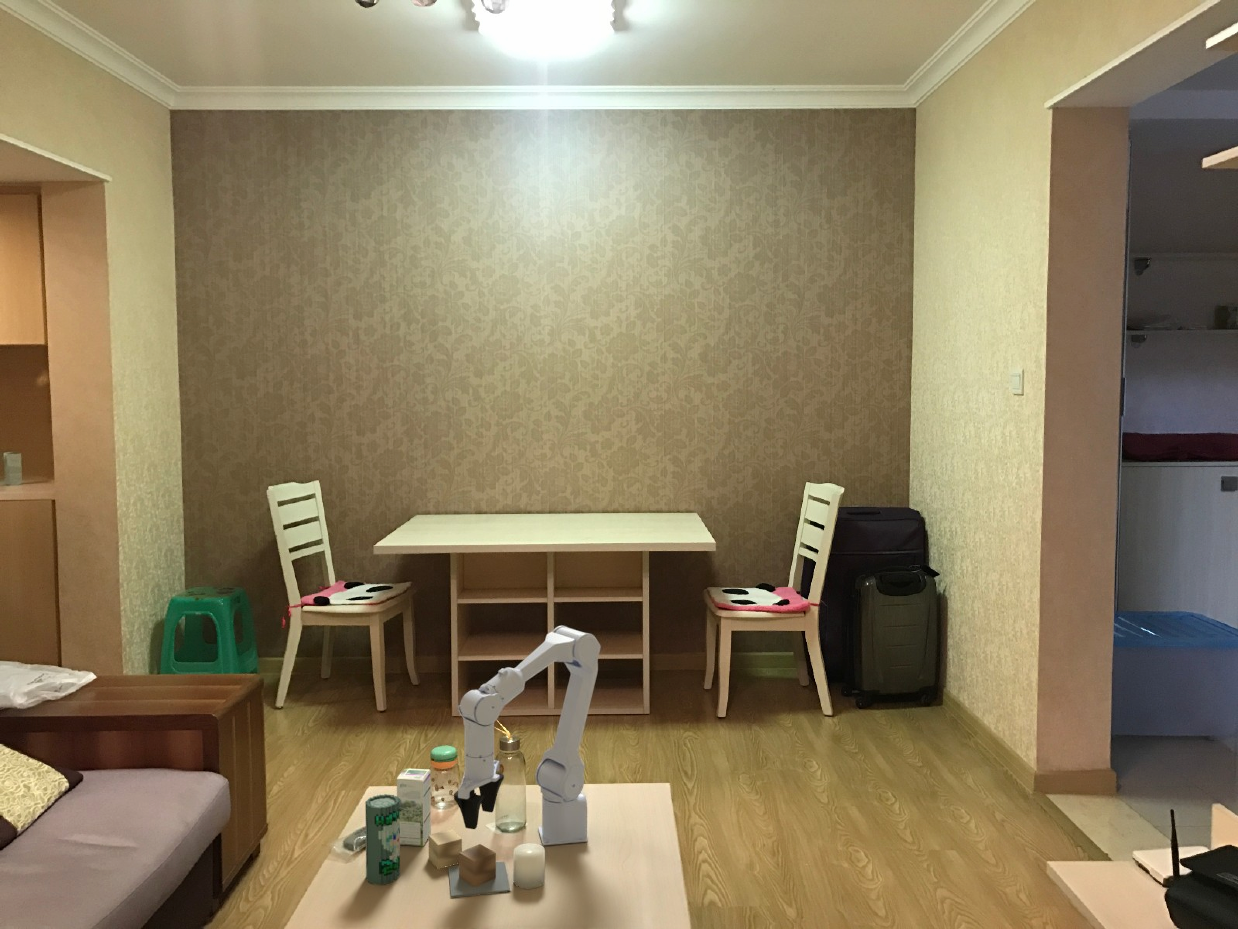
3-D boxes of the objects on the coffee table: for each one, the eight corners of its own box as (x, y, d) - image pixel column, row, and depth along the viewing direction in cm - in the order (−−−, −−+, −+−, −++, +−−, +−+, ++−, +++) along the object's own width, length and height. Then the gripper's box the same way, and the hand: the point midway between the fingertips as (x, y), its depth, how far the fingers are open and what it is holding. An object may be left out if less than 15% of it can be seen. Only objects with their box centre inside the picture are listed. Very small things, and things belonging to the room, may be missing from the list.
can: (390, 886, 181) (390, 809, 180) (361, 882, 183) (360, 806, 181) (404, 870, 187) (403, 796, 186) (375, 867, 188) (375, 793, 187)
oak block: (451, 852, 195) (451, 829, 194) (461, 863, 191) (461, 838, 190) (428, 859, 192) (428, 835, 192) (438, 869, 188) (438, 845, 188)
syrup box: (431, 834, 202) (431, 768, 201) (423, 847, 197) (422, 779, 195) (405, 833, 203) (405, 766, 202) (396, 846, 197) (395, 778, 196)
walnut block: (479, 868, 188) (479, 844, 187) (495, 877, 184) (495, 852, 184) (459, 877, 184) (459, 852, 184) (474, 887, 181) (474, 861, 180)
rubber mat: (504, 863, 190) (504, 861, 190) (510, 892, 180) (510, 889, 180) (448, 868, 188) (448, 866, 188) (451, 898, 177) (450, 895, 177)
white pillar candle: (542, 871, 188) (542, 842, 187) (546, 887, 182) (546, 856, 181) (511, 874, 186) (511, 845, 186) (515, 890, 180) (515, 859, 180)
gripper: (481, 769, 179) (482, 839, 180) (513, 741, 193) (513, 807, 194) (447, 764, 181) (448, 833, 182) (481, 737, 195) (481, 802, 196)
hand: (479, 819), depth 188 cm, fingers open, 7 cm apart
